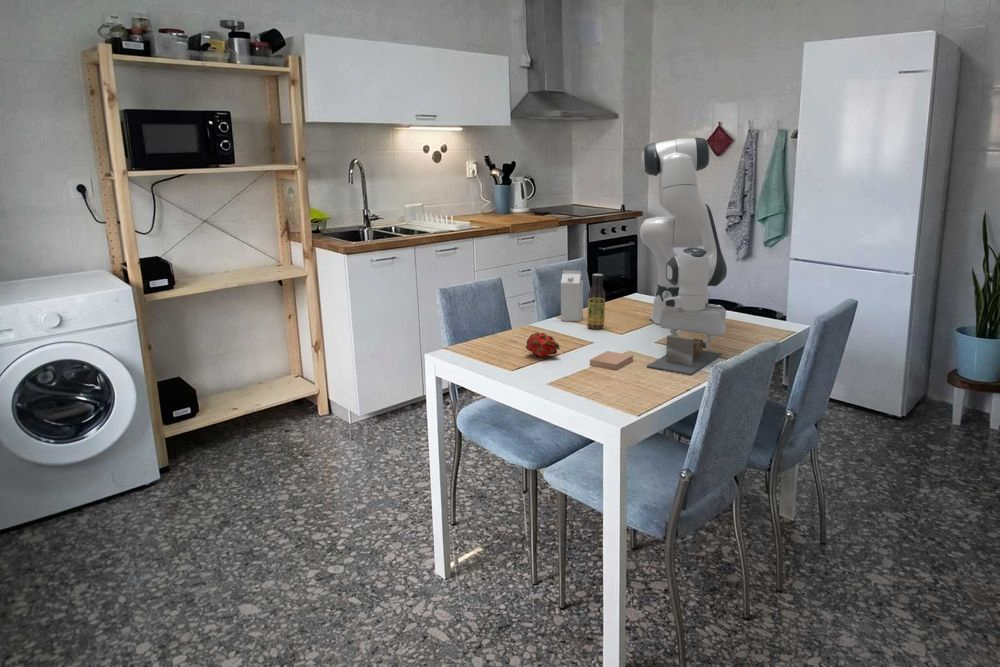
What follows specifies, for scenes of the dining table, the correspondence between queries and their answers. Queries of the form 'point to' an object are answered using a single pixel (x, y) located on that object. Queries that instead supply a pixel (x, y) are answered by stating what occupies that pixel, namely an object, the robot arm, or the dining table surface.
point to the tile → (611, 360)
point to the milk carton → (571, 296)
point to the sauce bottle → (596, 303)
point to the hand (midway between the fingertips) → (691, 345)
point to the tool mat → (696, 365)
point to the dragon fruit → (541, 345)
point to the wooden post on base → (682, 349)
